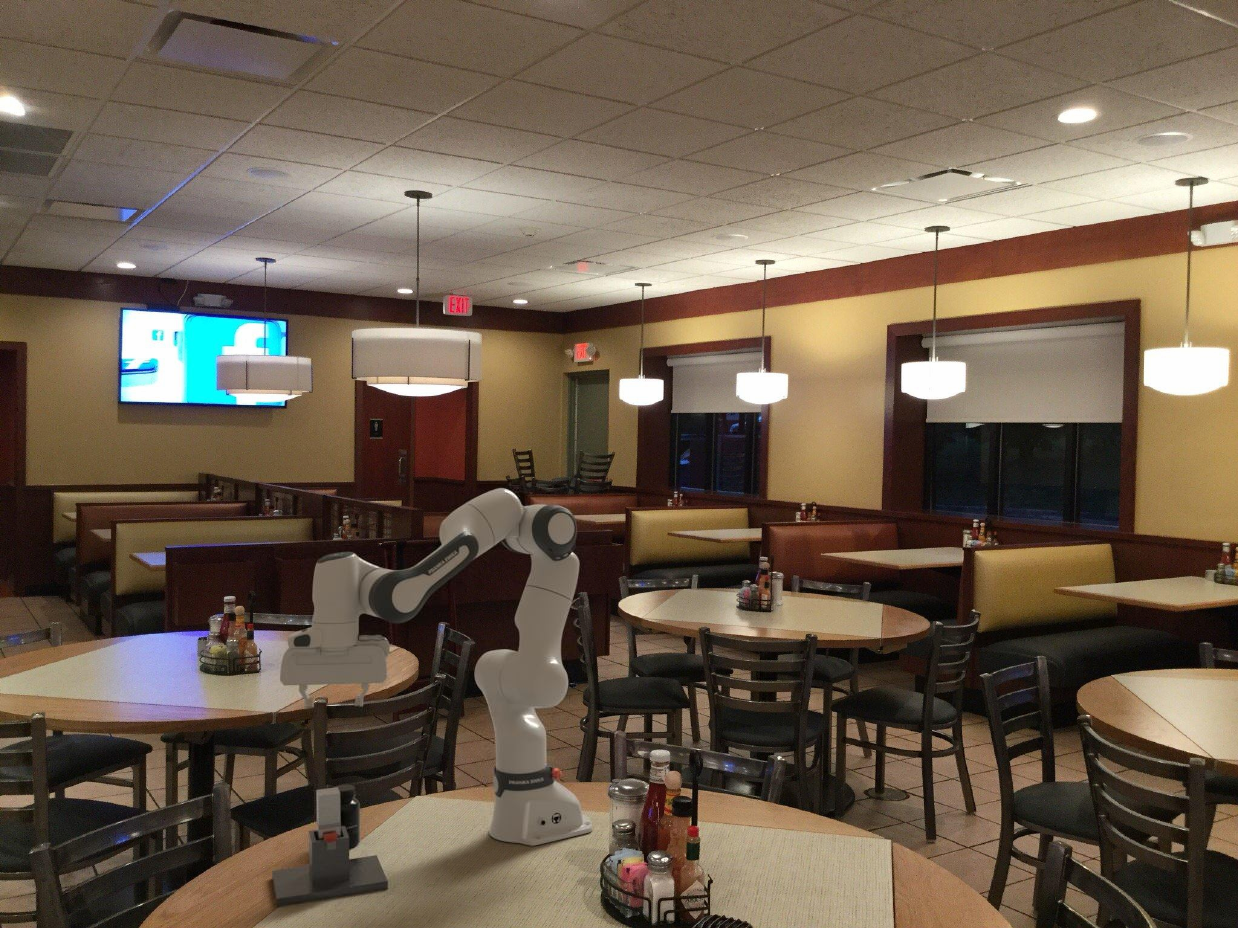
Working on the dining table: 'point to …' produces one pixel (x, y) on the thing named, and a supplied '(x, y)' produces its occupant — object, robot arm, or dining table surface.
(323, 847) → the stand
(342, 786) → the supplement bottle
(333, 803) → the column
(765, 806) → the dining table surface
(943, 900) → the dining table surface
